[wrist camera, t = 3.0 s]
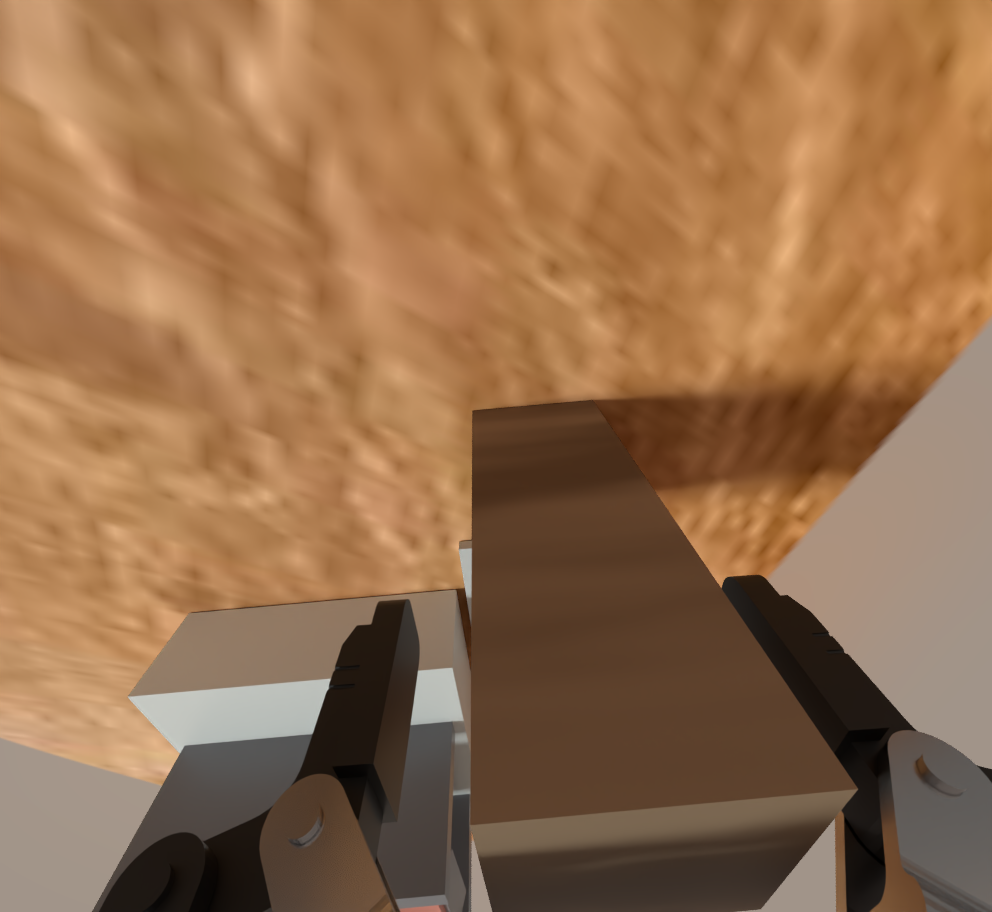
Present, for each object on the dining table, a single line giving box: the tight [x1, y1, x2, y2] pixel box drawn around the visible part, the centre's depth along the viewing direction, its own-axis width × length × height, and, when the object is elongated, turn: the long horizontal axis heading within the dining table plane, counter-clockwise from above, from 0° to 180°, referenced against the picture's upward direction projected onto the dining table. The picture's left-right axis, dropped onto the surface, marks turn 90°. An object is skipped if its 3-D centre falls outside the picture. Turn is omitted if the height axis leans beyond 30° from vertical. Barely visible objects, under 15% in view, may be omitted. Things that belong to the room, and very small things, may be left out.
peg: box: [470, 400, 858, 912], centre depth 11 cm, size 4×4×12 cm
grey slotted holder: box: [92, 590, 471, 912], centre depth 19 cm, size 16×13×9 cm
